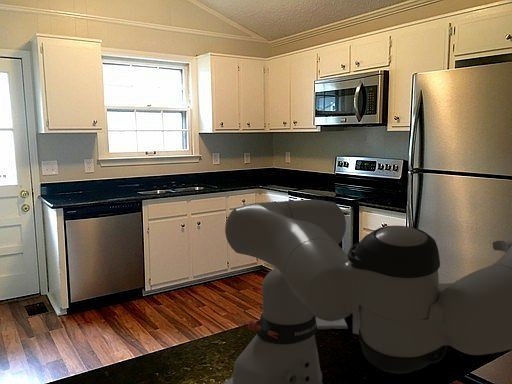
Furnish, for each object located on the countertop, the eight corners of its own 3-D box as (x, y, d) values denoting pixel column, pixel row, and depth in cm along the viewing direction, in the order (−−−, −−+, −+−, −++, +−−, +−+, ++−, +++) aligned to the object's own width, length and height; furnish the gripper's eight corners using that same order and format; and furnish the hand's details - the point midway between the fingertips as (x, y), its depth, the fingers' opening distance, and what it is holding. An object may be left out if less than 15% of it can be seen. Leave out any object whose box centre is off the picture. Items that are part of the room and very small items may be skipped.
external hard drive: (339, 312, 131) (347, 330, 119) (312, 313, 132) (317, 331, 119) (339, 307, 131) (347, 324, 119) (312, 308, 131) (317, 325, 119)
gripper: (558, 273, 77) (481, 265, 88) (602, 252, 88) (529, 248, 100) (555, 237, 77) (478, 234, 88) (600, 222, 88) (526, 220, 99)
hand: (505, 241), depth 94 cm, fingers open, 8 cm apart
